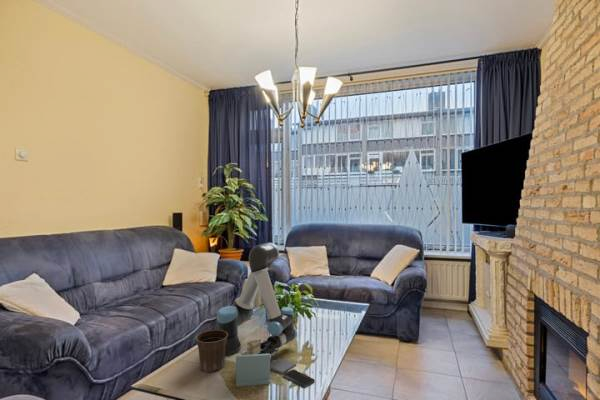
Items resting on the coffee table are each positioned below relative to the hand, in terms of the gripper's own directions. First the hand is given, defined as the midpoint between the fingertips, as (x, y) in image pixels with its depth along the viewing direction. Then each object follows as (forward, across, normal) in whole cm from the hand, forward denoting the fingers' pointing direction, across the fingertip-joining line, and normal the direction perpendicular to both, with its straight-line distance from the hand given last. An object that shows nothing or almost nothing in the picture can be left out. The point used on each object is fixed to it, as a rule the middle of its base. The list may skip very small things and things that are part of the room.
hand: (246, 356), depth 172 cm
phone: (-11, -24, -9) cm, 28 cm away
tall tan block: (-5, 0, -8) cm, 10 cm away
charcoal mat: (-15, -10, -8) cm, 20 cm away
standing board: (+4, -9, -8) cm, 13 cm away
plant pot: (+6, +19, -8) cm, 22 cm away
